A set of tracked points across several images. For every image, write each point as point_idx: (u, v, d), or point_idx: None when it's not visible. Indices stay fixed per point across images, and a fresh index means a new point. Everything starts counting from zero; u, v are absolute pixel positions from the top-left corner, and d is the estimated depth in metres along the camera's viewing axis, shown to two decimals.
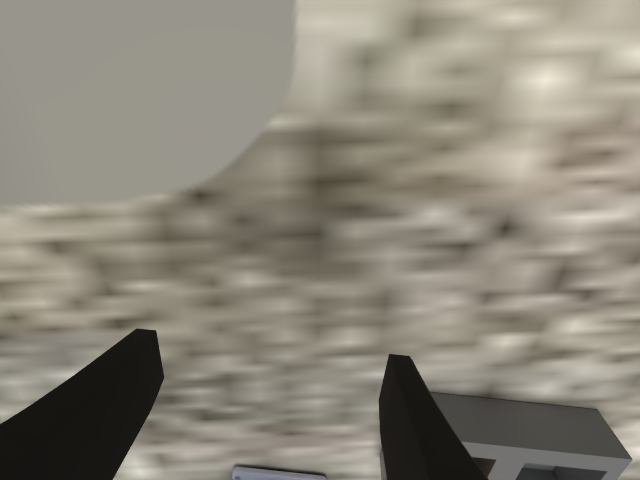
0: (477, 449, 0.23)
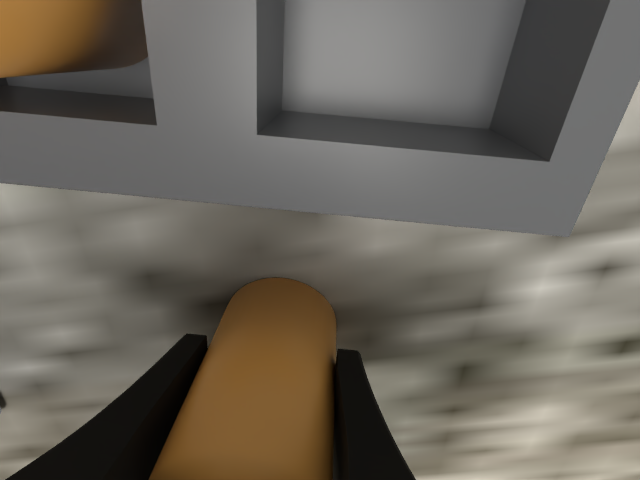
0: None
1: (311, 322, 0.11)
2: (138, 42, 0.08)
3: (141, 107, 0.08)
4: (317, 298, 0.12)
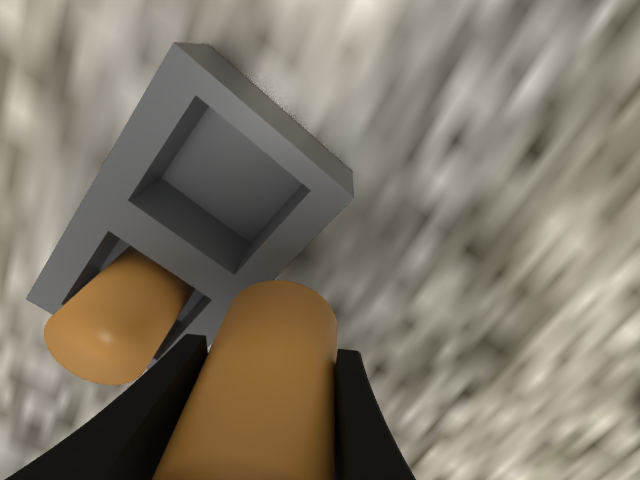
0: (76, 242, 0.16)
1: (310, 323, 0.11)
2: None
3: None
4: (316, 299, 0.12)
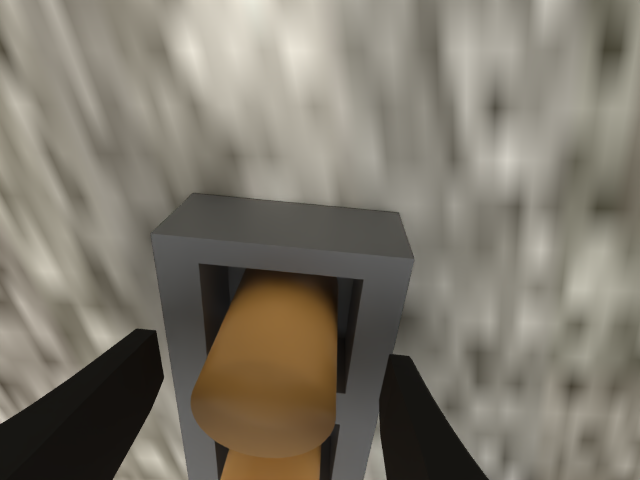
0: (195, 432, 0.15)
1: (316, 277, 0.13)
2: None
3: None
4: None
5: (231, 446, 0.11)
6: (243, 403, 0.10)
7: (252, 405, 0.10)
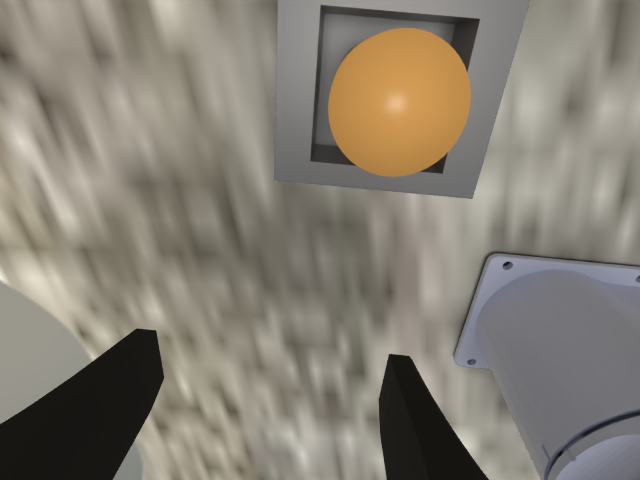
0: (294, 52, 0.13)
1: None
2: None
3: None
4: None
5: None
6: None
7: None
